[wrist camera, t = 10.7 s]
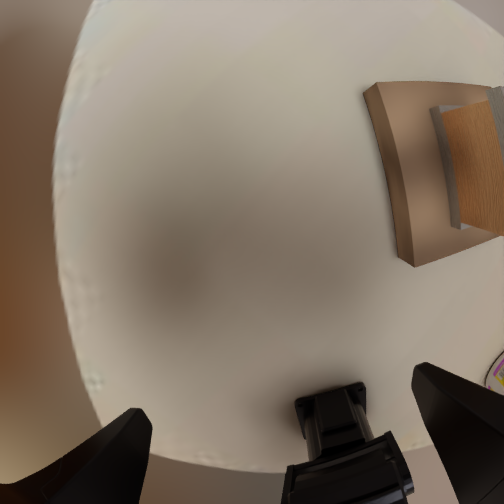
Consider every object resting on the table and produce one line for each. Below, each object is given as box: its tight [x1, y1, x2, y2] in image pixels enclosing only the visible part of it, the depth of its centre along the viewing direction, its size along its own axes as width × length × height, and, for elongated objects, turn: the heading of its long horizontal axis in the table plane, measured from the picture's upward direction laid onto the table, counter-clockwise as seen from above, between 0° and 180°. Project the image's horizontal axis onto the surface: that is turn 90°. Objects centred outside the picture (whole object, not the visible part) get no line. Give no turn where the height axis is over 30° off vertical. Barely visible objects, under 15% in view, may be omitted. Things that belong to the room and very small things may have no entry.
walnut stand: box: [363, 81, 501, 268], centre depth 15 cm, size 12×12×2 cm
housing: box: [429, 86, 504, 236], centre depth 10 cm, size 5×8×7 cm, turn 15°
